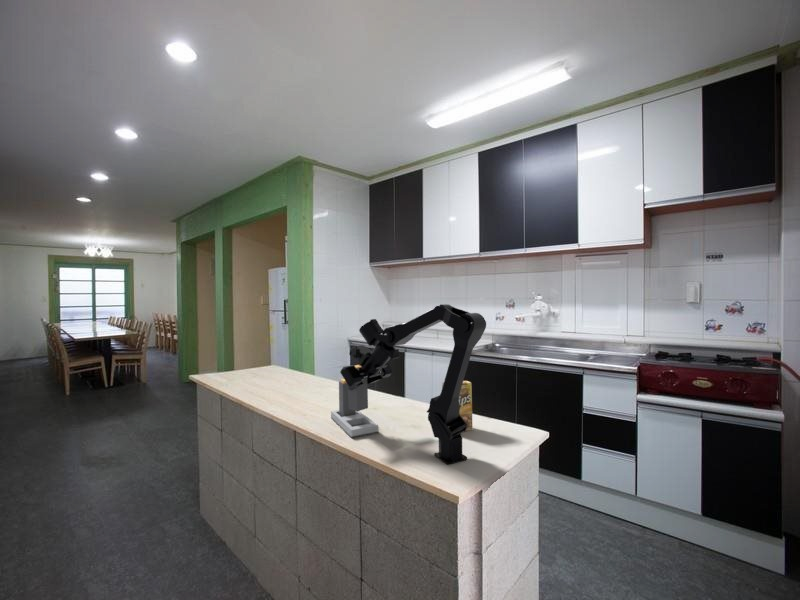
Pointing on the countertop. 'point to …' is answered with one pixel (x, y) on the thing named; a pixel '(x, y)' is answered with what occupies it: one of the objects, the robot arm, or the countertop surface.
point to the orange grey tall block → (358, 396)
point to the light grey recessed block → (355, 424)
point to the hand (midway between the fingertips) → (355, 387)
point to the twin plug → (344, 399)
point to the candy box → (466, 403)
